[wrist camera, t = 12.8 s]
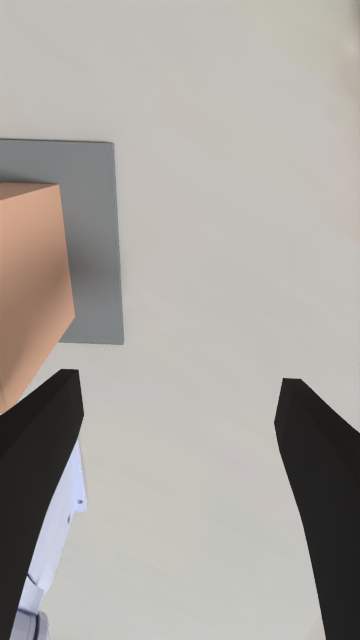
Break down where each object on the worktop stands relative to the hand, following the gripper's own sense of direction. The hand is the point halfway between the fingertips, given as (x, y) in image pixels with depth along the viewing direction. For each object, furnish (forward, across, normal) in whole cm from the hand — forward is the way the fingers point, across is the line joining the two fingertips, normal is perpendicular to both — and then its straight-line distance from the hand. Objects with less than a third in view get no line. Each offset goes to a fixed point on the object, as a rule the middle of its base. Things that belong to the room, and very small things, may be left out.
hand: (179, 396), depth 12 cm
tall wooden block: (+10, +8, -2) cm, 13 cm away
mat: (+10, +8, -2) cm, 14 cm away
